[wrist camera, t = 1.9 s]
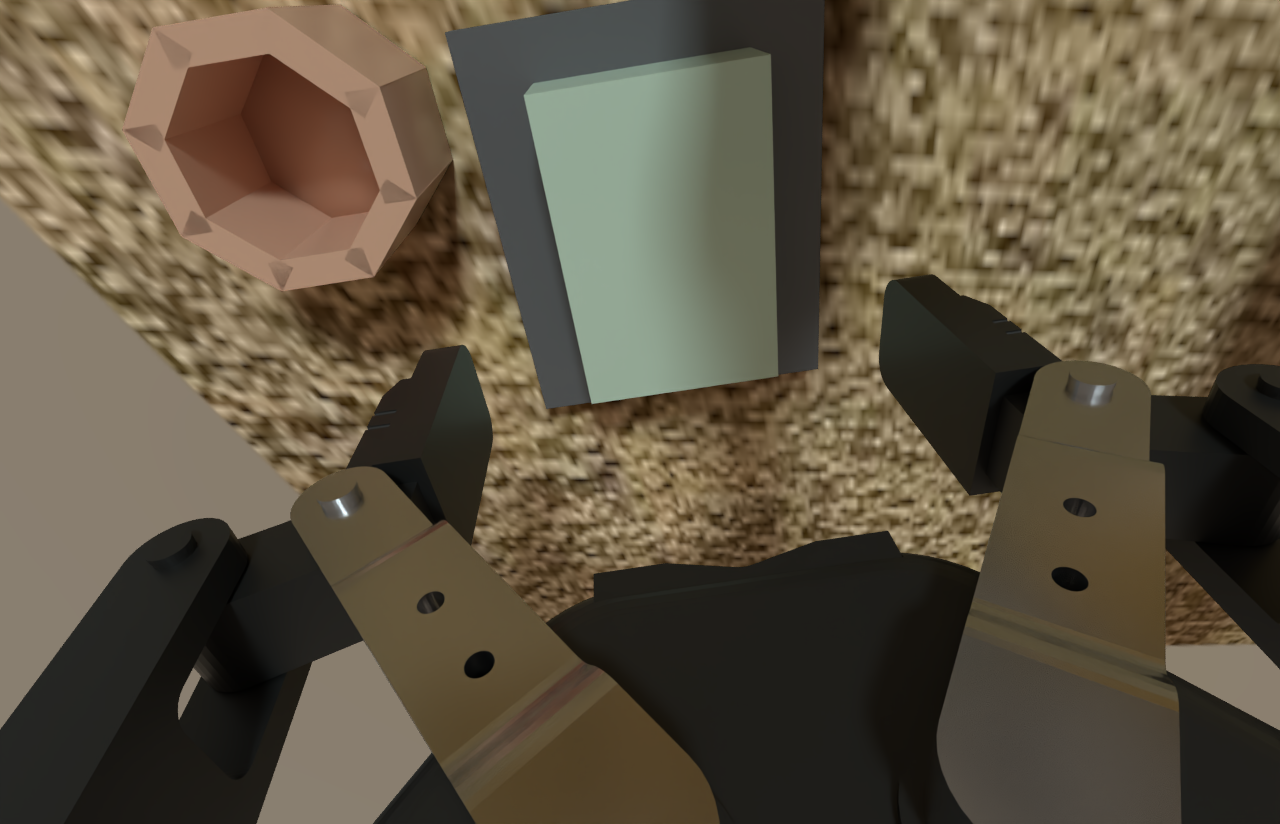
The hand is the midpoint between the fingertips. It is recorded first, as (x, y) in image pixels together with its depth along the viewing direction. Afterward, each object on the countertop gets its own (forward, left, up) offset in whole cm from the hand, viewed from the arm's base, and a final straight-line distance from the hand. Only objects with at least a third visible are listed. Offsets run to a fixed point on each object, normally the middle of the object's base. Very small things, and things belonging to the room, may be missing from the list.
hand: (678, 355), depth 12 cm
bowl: (+9, -4, -10) cm, 14 cm away
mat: (0, 0, -10) cm, 10 cm away
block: (0, 0, -9) cm, 9 cm away
